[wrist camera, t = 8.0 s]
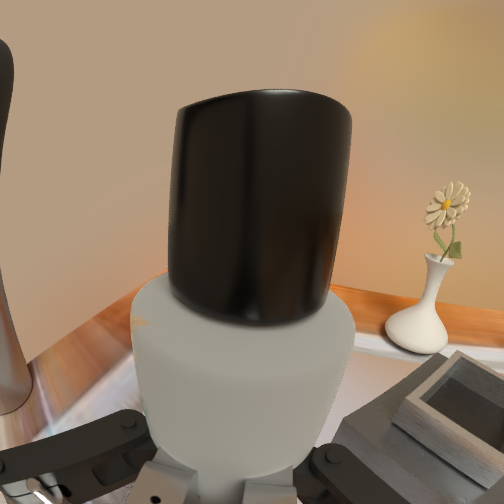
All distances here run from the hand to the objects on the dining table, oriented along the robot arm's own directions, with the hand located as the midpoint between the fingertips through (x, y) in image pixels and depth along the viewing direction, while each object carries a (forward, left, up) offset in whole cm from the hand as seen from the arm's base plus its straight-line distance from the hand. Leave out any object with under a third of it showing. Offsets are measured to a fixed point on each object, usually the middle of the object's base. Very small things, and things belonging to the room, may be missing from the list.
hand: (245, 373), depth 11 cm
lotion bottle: (+2, -2, -10) cm, 11 cm away
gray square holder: (+9, +16, -13) cm, 23 cm away
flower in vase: (-6, +34, -13) cm, 37 cm away
